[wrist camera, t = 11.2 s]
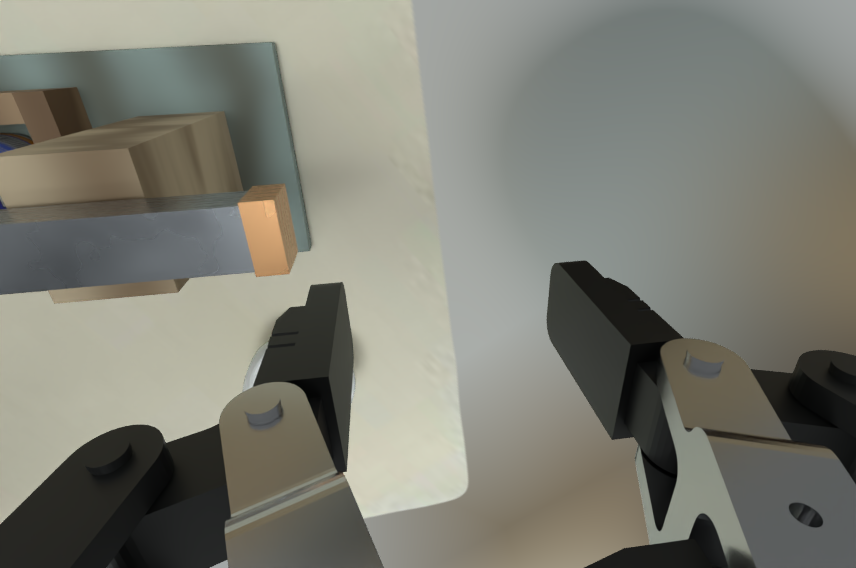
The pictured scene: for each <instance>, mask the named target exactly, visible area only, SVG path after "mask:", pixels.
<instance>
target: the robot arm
mask: <svg viewBox="0 0 856 568" xmlns="http://www.w3.org/2000/svg"><path fill="white" fill-rule="evenodd" d="M547 329H548V334H549V337H550V340H551V342H552V344H553V346H554V347H555V348H556V350H557V352H558V353H559V355H560V357H561V358H562V360H563V362H564V363H565V365H566V367H567V368H568V370H569V371H570V373H571V375H572V376H573V378H574V379H575V381H576V382H577V384H578V386H579V387H580V389H581V391H582V392H583V394H584V396H585V397H586V399H587V400H588V402H589V404H590V405H591V407H592V408H593V410H594V412H595V413H596V415H597V416H598V418H599V420H600V421H601V423H602V425H603V426H604V428H605V429H606V431H607V433H608V434H609V436H610V437H611V439H612V440H614V439H622V438H630V437H634V438H635V440H636V441H637V443H638V447H637V451H636V456H635V464H636V469H637V475H638V481H639V486H640V492H641V497H642V503H643V509H644V514H645V520H646V526H647V531H648V536H649V542H650V545H645V546H638V547H631V548H624V549H622V550H620V551H618V552H616V553H614V554H612V555H609V556H607V557H605V558H603V559H601V560H599V561H597V562H595V563H593V564H591V565H589V566H587V567H585V568H856V356H854V355H850V354H846V353H841V352H836V351H827V350H816V351H809V352H806V353H804V354H802V355H801V356H800V357H799V360H798V362H797V364H796V367H795V369H794V371H793V373H783V372H773V371H763V370H753V369H750V368H749V366H748V365H747V363H746V362H745V361H744V360H743V359H742V358H741V357H740V356H739V355H737V354H736V353H735V352H733V351H731V350H729V349H727V348H725V347H723V346H721V345H718V344H716V343H712V342H709V341H705V340H700V339H690V338H689V339H688V338H683V337H682V336H681V335H680V334H679V333H678V332H677V331H675V330H674V329H673V328H672V327H671V326H670V325H669V324H668V323H667V322H666V321H664V320H663V319H662V318H661V317H660V316H659V315H658V314H657V313H656V312H655V311H653V310H650V307H649V306H648V305H647V304H646V303H644V302H643V301H640V298H639V297H638V296H637V295H636V294H635V293H634V292H633V291H632V290H631V289H629V288H628V287H627V286H625V285H623V284H621V283H619V282H617V281H615V280H612V279H610V278H604V277H603V276H602V275H601V274H600V273H599V272H598V271H597V270H596V269H595V268H594V267H593V266H591V265H590V263H588V262H587V261H574V262H564V263H555V264H554V265H553V267H552V270H551V276H550V288H549V298H548V310H547ZM267 346H268V349H266V351H265V354H264V357H263V359H262V362H261V365H260V368H259V370H258V373H257V376H256V379H255V382H254V384H253V387H252V388H250V389H248V390H246V391H244V392H242V393H241V394H239V395H237V396H236V397H235V398H234V399H232V400H231V401H230V402H229V403H228V404H227V405H226V407H225V408H224V409H223V411H222V413H221V416H220V419H219V424H217V425H215V426H213V427H211V428H209V429H206V430H204V431H201V432H198V433H195V434H192V435H189V436H186V437H183V438H180V439H177V440H174V441H171V442H168V443H166V442H165V440H164V438H163V435H162V433H161V432H160V431H159V430H158V429H156V428H155V427H152V426H149V425H130V426H125V427H121V428H117V429H114V430H111V431H109V432H106V433H104V434H102V435H100V436H98V437H96V438H94V439H92V440H91V441H89V442H87V443H86V444H84V445H83V446H82V447H80V448H79V449H77V450H76V451H75V452H74V453H73V454H72V455H71V456H69V457H68V458H67V459H66V460H65V461H64V462H63V463H62V464H61V465H60V466H59V467H58V468H57V469H56V470H55V471H54V472H53V473H52V474H51V475H50V476H49V477H48V478H47V479H46V480H45V481H44V482H43V483H42V484H41V485H40V486H39V487H38V488H37V489H36V490H35V491H34V492H33V493H32V494H31V495H30V496H29V497H28V498H27V499H26V500H25V501H24V502H23V503H22V504H21V505H20V506H19V507H18V508H17V509H16V510H15V511H14V512H13V513H11V514H10V515H9V516H8V517H7V518H6V519H5V520H4V521H3V522H2V523H1V524H0V568H210V567H212V566H214V565H216V564H218V563H221V562H223V561H225V560H228V567H229V568H384V567H383V564H382V562H381V560H380V557H379V555H378V553H377V550H376V548H375V545H374V543H373V541H372V538H371V536H370V534H369V531H368V529H367V527H366V524H365V522H364V519H363V517H362V515H361V512H360V510H359V507H358V505H357V503H356V500H355V498H354V496H353V493H352V491H351V489H350V486H349V484H348V482H347V479H346V477H345V475H344V474H343V472H347V458H348V442H349V426H350V410H351V394H352V378H353V342H352V335H351V328H350V322H349V315H348V308H347V302H346V295H345V289H344V285H343V283H342V282H340V283H329V284H318V285H311V287H310V290H309V294H308V298H307V301H306V305H305V306H300V307H290V308H289V309H288V310H287V311H286V312H285V313H284V314H283V315H282V316H280V317H279V318H278V319H277V320H276V323H275V326H274V329H273V332H272V337H270V340H269V343H268V345H267Z"/></svg>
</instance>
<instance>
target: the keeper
mask: <svg viewBox="0 0 856 568" xmlns="http://www.w3.org/2000/svg"><path fill="white" fill-rule="evenodd" d="M297 252H298V247H297V242H296V237H295V232H294V227H293V222H292V217H291V212H290V207H289V202H288V197H287V192H286V186H285V183H284V184H270V185H257V186H252V187H251V188H250V190H249V191H238V192H225V193H211V194H198V195H185V196H171V197H158V198H144V199H131V200H118V201H104V202H91V203H78V204H64V205H51V206H37V207H24V208H11V209H0V295H2V294H13V293H24V292H36V291H47V290H58V289H70V288H81V287H92V286H104V285H115V284H126V283H138V282H149V281H160V280H171V279H183V278H194V277H205V276H217V275H228V274H239V273H251V272H255V274H256V277H260V276H272V275H283V274H290V271H291V268H292V266H293V263H294V260H295V258H296V255H297Z"/></svg>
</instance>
